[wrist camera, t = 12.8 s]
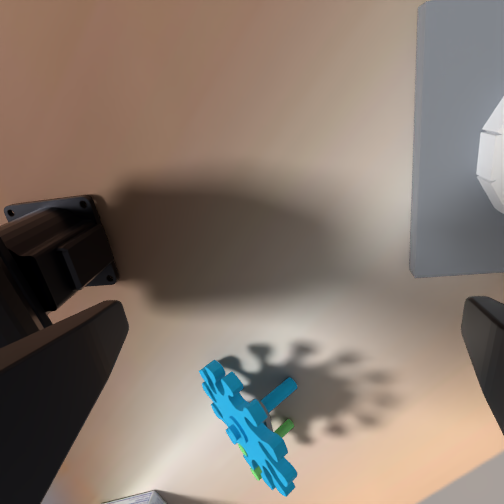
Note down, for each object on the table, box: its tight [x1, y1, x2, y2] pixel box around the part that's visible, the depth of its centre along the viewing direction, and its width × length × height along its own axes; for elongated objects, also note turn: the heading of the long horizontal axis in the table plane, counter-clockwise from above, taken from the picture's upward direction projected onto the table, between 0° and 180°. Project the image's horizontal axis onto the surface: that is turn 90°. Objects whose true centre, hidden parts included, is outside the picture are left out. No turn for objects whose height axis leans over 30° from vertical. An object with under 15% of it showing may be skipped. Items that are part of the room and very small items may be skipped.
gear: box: [199, 360, 297, 497], centre depth 26 cm, size 11×6×10 cm
